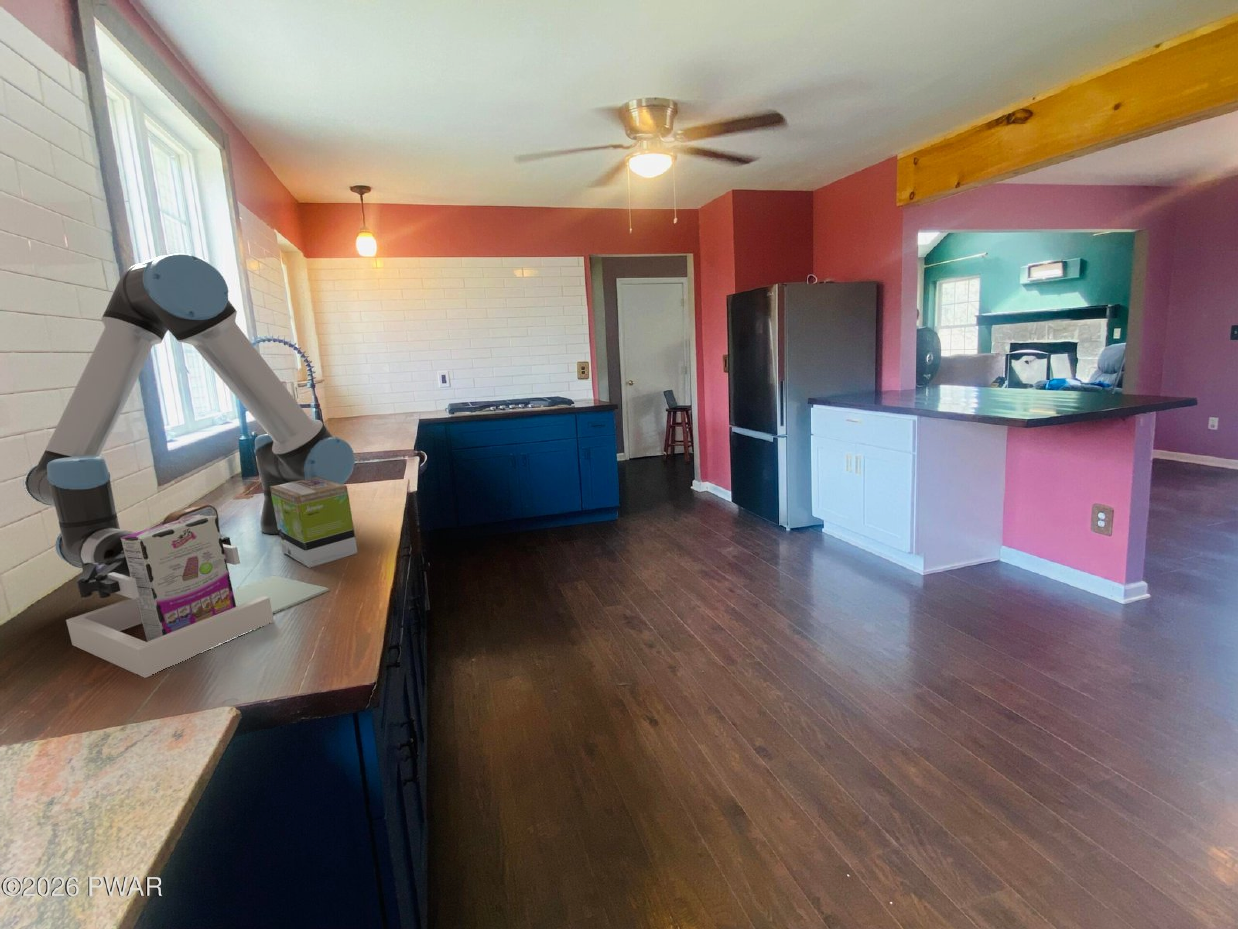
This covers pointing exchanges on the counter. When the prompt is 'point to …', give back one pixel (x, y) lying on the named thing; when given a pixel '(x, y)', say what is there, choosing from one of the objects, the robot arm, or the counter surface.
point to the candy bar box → (179, 574)
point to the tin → (191, 513)
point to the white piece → (147, 658)
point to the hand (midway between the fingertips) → (188, 571)
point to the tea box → (314, 520)
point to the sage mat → (278, 592)
